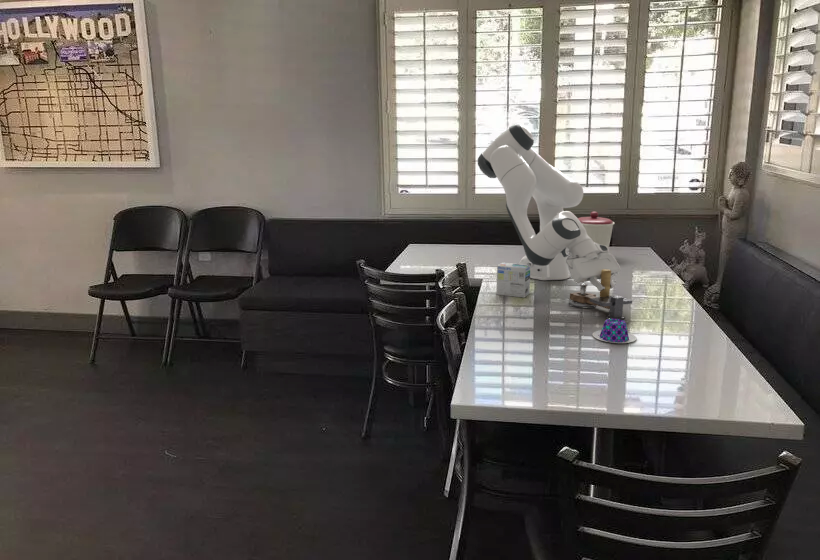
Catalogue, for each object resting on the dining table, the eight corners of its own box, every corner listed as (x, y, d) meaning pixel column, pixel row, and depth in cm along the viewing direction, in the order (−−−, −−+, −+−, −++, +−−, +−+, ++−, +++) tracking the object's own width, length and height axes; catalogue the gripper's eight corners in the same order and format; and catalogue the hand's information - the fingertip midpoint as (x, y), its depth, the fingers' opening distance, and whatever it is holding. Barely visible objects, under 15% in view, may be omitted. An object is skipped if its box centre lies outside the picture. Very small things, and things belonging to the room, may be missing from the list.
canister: (579, 252, 312) (582, 207, 307) (617, 256, 302) (621, 211, 297) (564, 258, 298) (567, 212, 293) (603, 263, 288) (607, 215, 283)
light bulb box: (530, 293, 236) (531, 264, 233) (524, 298, 230) (526, 268, 227) (501, 290, 240) (502, 261, 238) (495, 294, 234) (496, 265, 232)
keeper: (588, 314, 210) (590, 293, 208) (617, 311, 214) (618, 290, 212) (604, 322, 202) (606, 300, 201) (633, 318, 206) (635, 296, 204)
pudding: (583, 336, 189) (584, 319, 188) (611, 329, 196) (612, 312, 195) (616, 348, 180) (618, 330, 178) (645, 340, 186) (646, 323, 185)
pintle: (564, 305, 221) (565, 284, 219) (574, 299, 228) (575, 279, 226) (590, 309, 216) (592, 288, 214) (599, 303, 223) (601, 283, 221)
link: (569, 299, 222) (571, 264, 220) (581, 296, 226) (584, 262, 223) (612, 311, 208) (615, 274, 205) (624, 309, 211) (627, 272, 208)
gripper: (569, 251, 210) (591, 287, 204) (610, 245, 221) (633, 279, 216) (558, 263, 214) (579, 298, 209) (599, 256, 226) (620, 290, 220)
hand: (607, 288), depth 212 cm, fingers open, 3 cm apart
